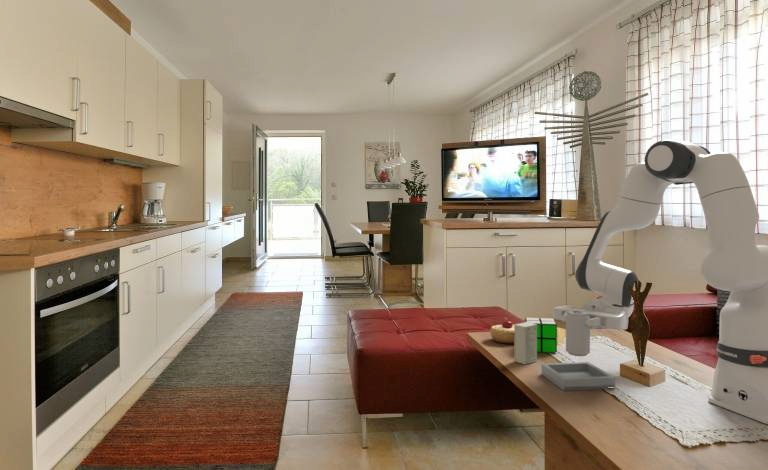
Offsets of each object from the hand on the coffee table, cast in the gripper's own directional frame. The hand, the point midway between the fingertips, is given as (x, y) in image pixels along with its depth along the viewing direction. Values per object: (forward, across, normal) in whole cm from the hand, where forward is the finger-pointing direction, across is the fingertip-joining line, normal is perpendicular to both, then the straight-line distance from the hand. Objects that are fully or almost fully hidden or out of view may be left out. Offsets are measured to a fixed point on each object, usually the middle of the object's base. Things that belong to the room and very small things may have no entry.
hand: (575, 320), depth 142 cm
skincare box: (-6, -20, +18) cm, 28 cm away
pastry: (-24, -40, +18) cm, 50 cm away
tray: (-1, 0, +17) cm, 17 cm away
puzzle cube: (-24, -25, +18) cm, 39 cm away
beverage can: (-2, 0, +10) cm, 10 cm away
